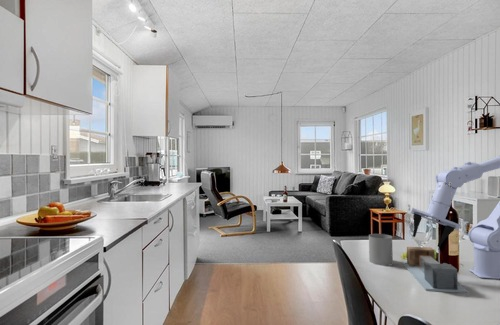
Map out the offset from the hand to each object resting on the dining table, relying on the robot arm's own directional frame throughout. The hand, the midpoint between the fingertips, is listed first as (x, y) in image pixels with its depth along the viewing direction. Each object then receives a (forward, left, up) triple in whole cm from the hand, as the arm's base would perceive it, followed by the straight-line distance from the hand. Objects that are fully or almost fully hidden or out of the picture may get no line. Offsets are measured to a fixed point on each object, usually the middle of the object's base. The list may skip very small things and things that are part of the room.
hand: (425, 241), depth 107 cm
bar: (-1, +3, -11) cm, 11 cm away
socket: (-1, -10, -12) cm, 16 cm away
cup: (+12, -14, -12) cm, 22 cm away
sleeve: (-1, +9, -12) cm, 15 cm away
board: (-1, +1, -12) cm, 12 cm away
